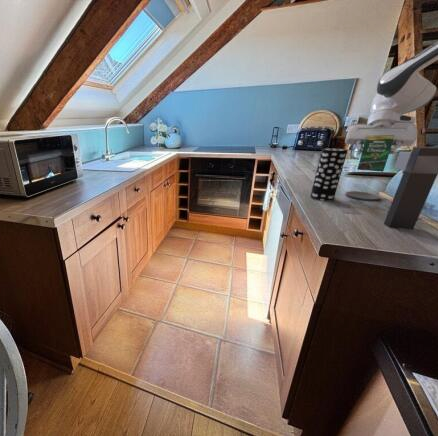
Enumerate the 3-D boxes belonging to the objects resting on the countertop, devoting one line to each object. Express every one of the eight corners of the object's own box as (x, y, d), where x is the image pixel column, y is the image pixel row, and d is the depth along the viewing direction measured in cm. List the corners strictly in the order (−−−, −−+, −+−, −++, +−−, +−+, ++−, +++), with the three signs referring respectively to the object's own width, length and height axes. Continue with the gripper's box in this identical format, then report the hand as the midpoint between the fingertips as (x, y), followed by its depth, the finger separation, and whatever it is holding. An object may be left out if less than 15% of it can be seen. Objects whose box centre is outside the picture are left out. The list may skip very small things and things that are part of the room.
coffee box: (355, 169, 97) (366, 135, 92) (356, 168, 99) (366, 134, 94) (383, 172, 92) (395, 135, 87) (383, 170, 94) (395, 135, 89)
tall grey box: (375, 217, 83) (402, 144, 74) (397, 219, 81) (427, 144, 72) (389, 227, 76) (420, 147, 66) (413, 229, 74) (449, 148, 65)
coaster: (361, 192, 109) (362, 190, 109) (385, 200, 99) (386, 198, 98) (338, 193, 108) (339, 191, 108) (360, 201, 98) (361, 199, 98)
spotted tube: (333, 196, 104) (346, 148, 97) (334, 202, 98) (348, 151, 90) (310, 194, 109) (321, 147, 101) (310, 199, 102) (322, 150, 94)
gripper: (349, 118, 99) (343, 145, 95) (421, 117, 87) (416, 148, 84) (346, 129, 104) (340, 155, 100) (414, 129, 92) (409, 159, 89)
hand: (375, 152), depth 92 cm, fingers closed on coffee box, 8 cm apart
